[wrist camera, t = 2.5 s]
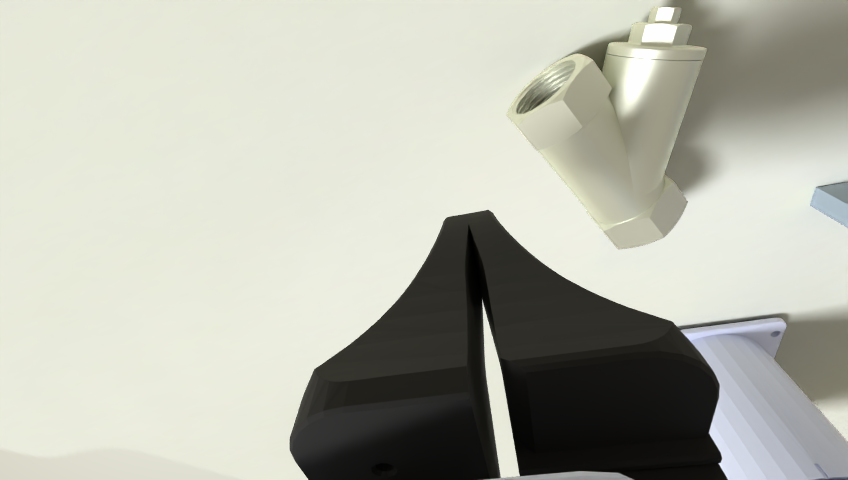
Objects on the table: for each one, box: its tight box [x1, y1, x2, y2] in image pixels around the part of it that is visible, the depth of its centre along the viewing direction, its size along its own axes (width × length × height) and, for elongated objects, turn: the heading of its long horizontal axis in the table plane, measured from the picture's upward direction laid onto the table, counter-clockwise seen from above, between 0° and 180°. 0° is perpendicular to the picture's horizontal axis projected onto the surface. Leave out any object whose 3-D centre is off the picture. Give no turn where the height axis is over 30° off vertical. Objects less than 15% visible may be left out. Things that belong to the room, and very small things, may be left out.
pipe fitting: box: [506, 7, 707, 249], centre depth 16 cm, size 8×4×7 cm
